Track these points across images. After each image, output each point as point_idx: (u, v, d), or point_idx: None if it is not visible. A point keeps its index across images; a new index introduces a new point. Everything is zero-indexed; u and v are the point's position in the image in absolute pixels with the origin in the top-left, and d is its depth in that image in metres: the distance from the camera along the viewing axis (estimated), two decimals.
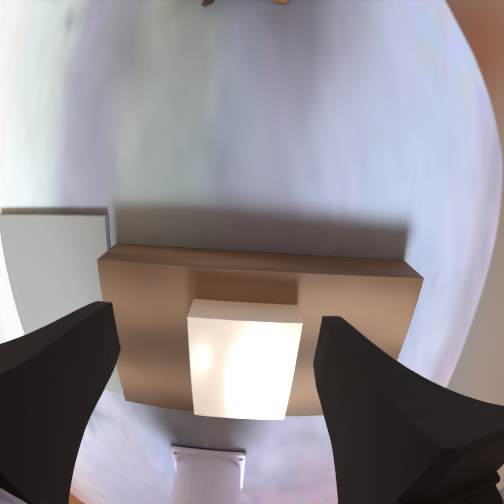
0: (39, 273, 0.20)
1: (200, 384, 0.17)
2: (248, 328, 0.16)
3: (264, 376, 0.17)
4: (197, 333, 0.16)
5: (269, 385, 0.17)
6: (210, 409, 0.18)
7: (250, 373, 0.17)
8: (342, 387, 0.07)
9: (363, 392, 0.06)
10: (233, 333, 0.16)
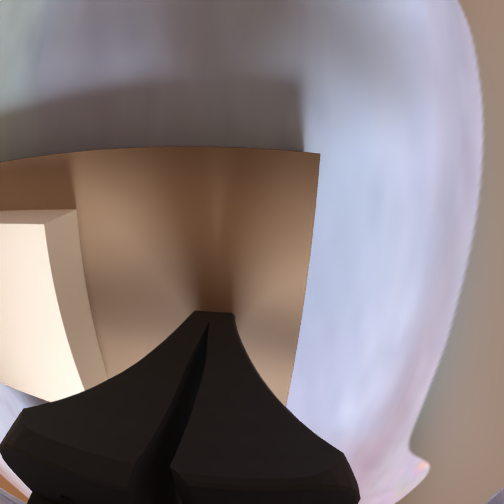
0: None
1: None
2: None
3: (31, 327, 0.09)
4: None
5: (44, 345, 0.09)
6: (7, 376, 0.10)
7: (15, 319, 0.09)
8: None
9: None
10: None
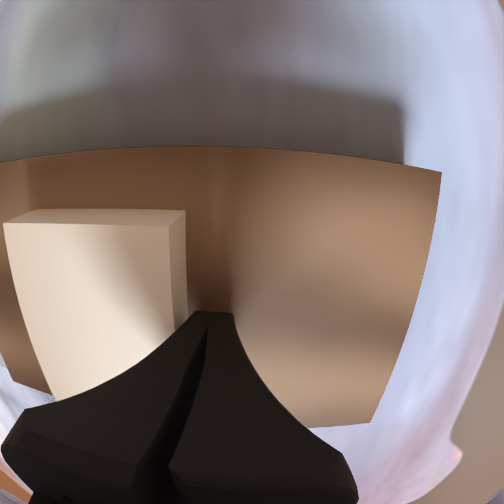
0: None
1: (43, 350, 0.09)
2: (77, 240, 0.08)
3: (125, 345, 0.09)
4: (16, 253, 0.08)
5: None
6: None
7: (101, 336, 0.09)
8: None
9: None
10: (58, 250, 0.08)
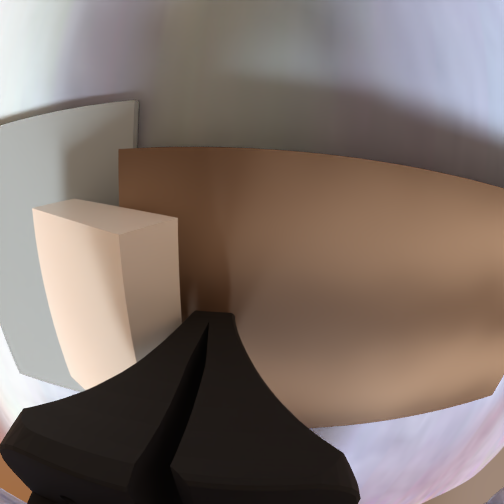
0: (18, 213, 0.12)
1: (58, 326, 0.10)
2: (67, 234, 0.08)
3: (103, 344, 0.08)
4: (39, 236, 0.09)
5: (114, 367, 0.08)
6: (78, 375, 0.11)
7: (88, 329, 0.09)
8: None
9: None
10: (58, 240, 0.08)
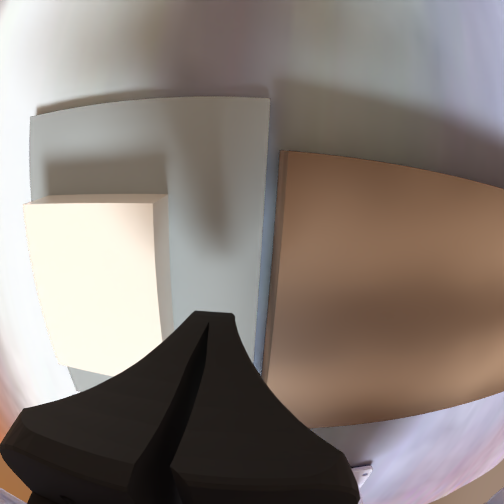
0: None
1: None
2: None
3: None
4: None
5: None
6: None
7: None
8: None
9: None
10: None
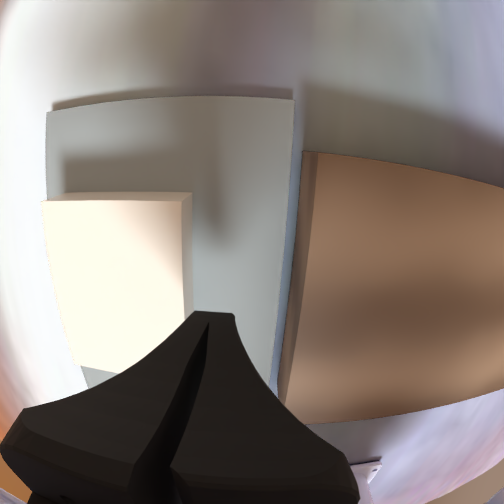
0: None
1: None
2: None
3: None
4: None
5: None
6: None
7: None
8: None
9: None
10: None
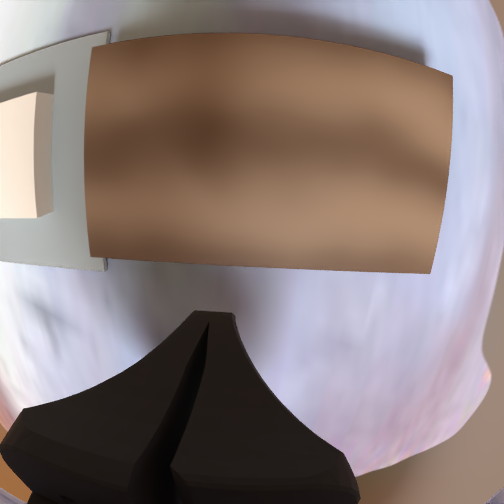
0: None
1: None
2: None
3: None
4: None
5: None
6: None
7: None
8: None
9: None
10: None
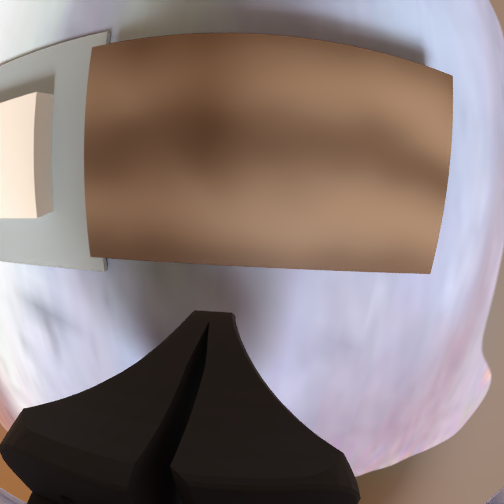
0: None
1: None
2: None
3: None
4: None
5: None
6: None
7: None
8: None
9: None
10: None
